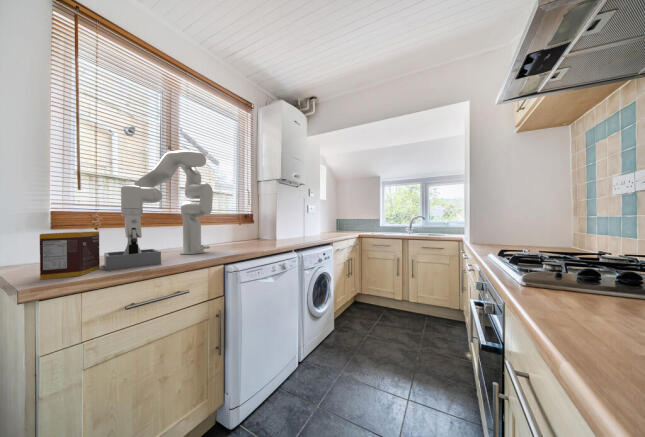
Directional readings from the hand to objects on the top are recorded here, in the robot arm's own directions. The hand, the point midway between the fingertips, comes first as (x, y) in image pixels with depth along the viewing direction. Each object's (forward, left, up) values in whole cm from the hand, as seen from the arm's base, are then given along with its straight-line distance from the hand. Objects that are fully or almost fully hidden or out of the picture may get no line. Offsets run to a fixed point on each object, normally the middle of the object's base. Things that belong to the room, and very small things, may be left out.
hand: (132, 252), depth 103 cm
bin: (0, 0, -5) cm, 5 cm away
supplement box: (+18, +6, -5) cm, 20 cm away
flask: (0, 0, -2) cm, 2 cm away
